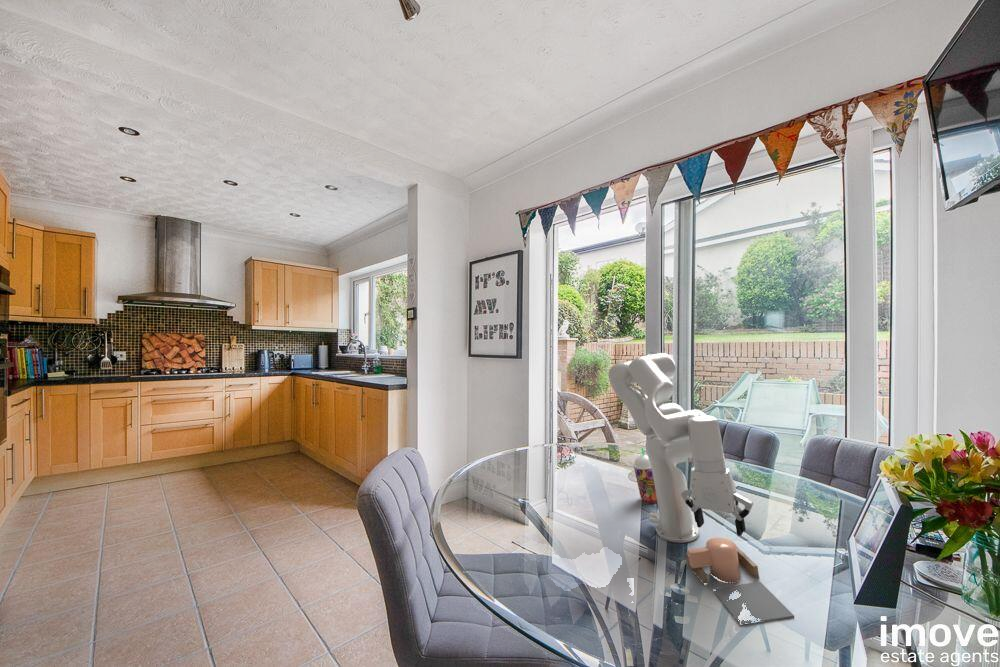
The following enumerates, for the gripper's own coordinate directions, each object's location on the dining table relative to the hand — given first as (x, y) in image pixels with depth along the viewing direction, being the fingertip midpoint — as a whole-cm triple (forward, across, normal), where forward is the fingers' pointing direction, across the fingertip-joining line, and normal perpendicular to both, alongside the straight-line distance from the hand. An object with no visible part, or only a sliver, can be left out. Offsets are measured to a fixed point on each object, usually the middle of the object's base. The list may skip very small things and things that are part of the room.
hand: (720, 529), depth 107 cm
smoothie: (+11, -36, +32) cm, 49 cm away
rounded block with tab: (+13, -3, -1) cm, 13 cm away
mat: (+13, +7, -7) cm, 16 cm away
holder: (+12, -2, +2) cm, 13 cm away
